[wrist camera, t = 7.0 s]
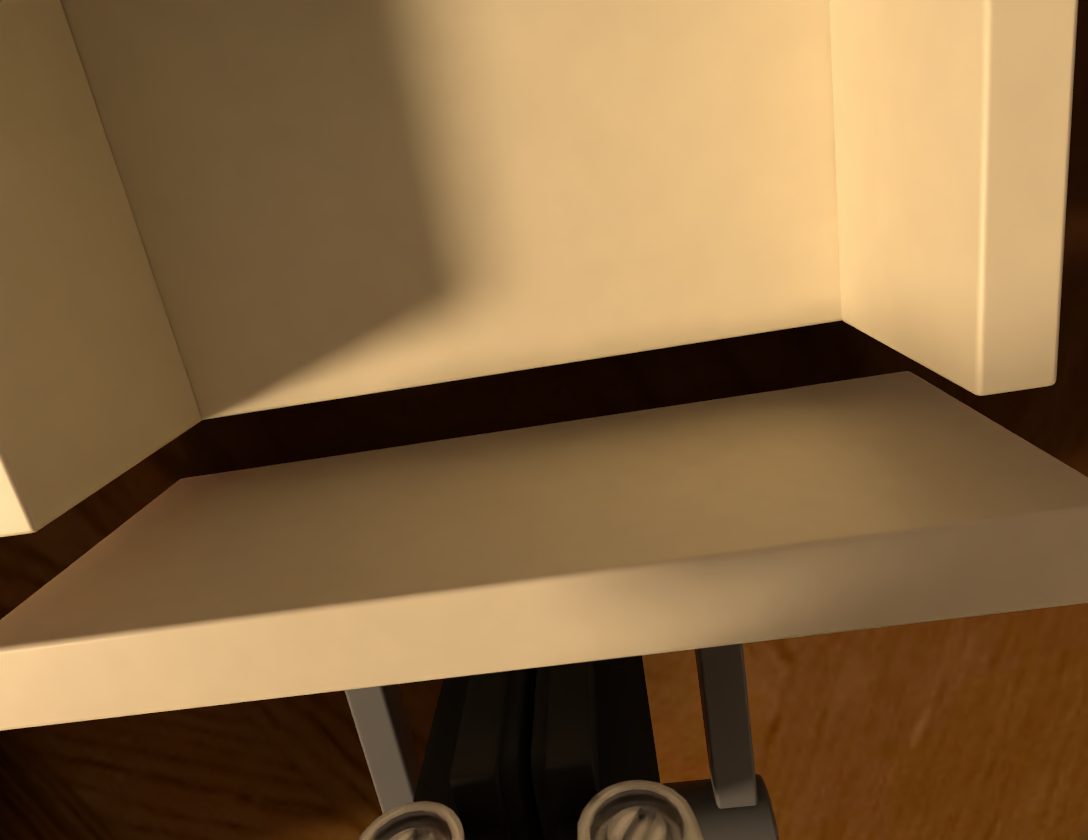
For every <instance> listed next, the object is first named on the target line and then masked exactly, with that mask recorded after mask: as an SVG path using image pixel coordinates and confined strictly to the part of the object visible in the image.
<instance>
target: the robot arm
mask: <svg viewBox="0 0 1088 840" xmlns="http://www.w3.org/2000/svg"><path fill="white" fill-rule="evenodd" d="M358 840H704V838H703V836H702V833H701V830H700V828H699V825H698V822H697V820H696V817H695V814H694V813H693V811H692V809H691V808H690V806H689V804H688V803H687V801H686V800H685V799H684V798H683V797H682V796H681V795H679V794H678V793H677V792H676V791H675V790H674V789H672V788H669V787H667V786H665V785H663V784H661V783H660V778H659V772H658V765H657V758H656V751H655V744H654V737H653V730H652V723H651V717H650V710H649V703H648V696H647V689H646V682H645V675H644V668H643V661H642V655H639V656H630V657H622V658H613V659H605V660H597V661H588V662H580V663H571V664H563V665H554V666H546V667H537V668H529V669H520V670H512V671H503V672H495V673H486V674H478V675H469V676H461V677H452V678H445V679H444V682H443V685H442V688H441V692H440V696H439V700H438V704H437V708H436V712H435V716H434V720H433V724H432V728H431V732H430V736H429V740H428V744H427V748H426V752H425V756H424V760H423V764H422V768H421V772H420V776H419V780H418V784H417V788H416V792H415V796H414V800H413V802H409V803H407V804H404V805H401V806H398V807H395V808H393V809H391V810H389V811H388V812H386V813H385V814H383V815H381V816H380V817H378V818H377V819H376V820H375V821H374V822H373V823H371V824H370V825H369V826H368V827H367V828H366V829H365V830H364V831H363V833H362V834H361V836H360V837H359V839H358Z"/></svg>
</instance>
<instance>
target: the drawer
mask: <svg viewBox="0 0 1088 840" xmlns="http://www.w3.org/2000/svg"><path fill="white" fill-rule="evenodd" d="M1077 13H1078V0H0V537H6V536H13V535H20V534H27V533H34V532H37V531H38V530H40V529H41V528H43V527H44V526H46V525H47V524H49V523H50V522H52V521H53V520H55V519H56V518H58V517H59V516H61V515H62V514H64V513H65V512H66V511H68V510H69V509H71V508H72V507H74V506H75V505H77V504H78V503H80V502H81V501H83V500H84V499H86V498H87V497H89V496H90V495H92V494H93V493H95V492H96V491H98V490H99V489H101V488H102V487H104V486H105V485H107V484H108V483H110V482H111V481H113V480H114V479H116V478H117V477H119V476H120V475H122V474H123V473H125V472H126V471H127V470H129V469H130V468H132V467H133V466H135V465H136V464H138V463H139V462H141V461H142V460H144V459H145V458H147V457H148V456H150V455H151V454H153V453H154V452H156V451H157V450H159V449H160V448H162V447H163V446H165V445H166V444H168V443H169V442H171V441H172V440H174V439H175V438H177V437H178V436H180V435H181V434H183V433H184V432H186V431H187V430H188V429H190V428H191V427H193V426H194V425H196V424H197V423H199V422H200V421H201V420H205V419H211V418H218V417H224V416H230V415H237V414H243V413H250V412H256V411H263V410H269V409H275V408H282V407H288V406H295V405H301V404H308V403H314V402H320V401H327V400H333V399H340V398H346V397H353V396H359V395H365V394H372V393H378V392H385V391H391V390H398V389H404V388H410V387H417V386H423V385H430V384H436V383H443V382H449V381H455V380H462V379H468V378H475V377H481V376H488V375H494V374H500V373H507V372H513V371H520V370H526V369H533V368H539V367H545V366H552V365H558V364H565V363H571V362H578V361H584V360H590V359H597V358H603V357H610V356H616V355H623V354H629V353H635V352H642V351H648V350H655V349H661V348H668V347H674V346H680V345H687V344H693V343H700V342H706V341H713V340H719V339H725V338H732V337H738V336H745V335H751V334H758V333H764V332H770V331H777V330H783V329H790V328H796V327H802V326H809V325H815V324H822V323H828V322H835V321H841V320H843V321H844V322H846V323H847V324H849V325H851V326H853V327H855V328H856V329H858V330H860V331H862V332H864V333H865V334H867V335H869V336H871V337H873V338H874V339H876V340H878V341H880V342H882V343H883V344H885V345H887V346H889V347H891V348H892V349H894V350H896V351H898V352H900V353H901V354H903V355H905V356H907V357H909V358H910V359H912V360H914V361H916V362H918V363H919V364H921V365H923V366H925V367H927V368H928V369H930V370H932V371H934V372H936V373H937V374H939V375H941V376H943V377H945V378H946V379H948V380H950V381H952V382H954V383H955V384H957V385H959V386H961V387H963V388H964V389H966V390H968V391H970V392H972V393H973V394H975V395H979V396H983V395H990V394H997V393H1004V392H1011V391H1018V390H1025V389H1032V388H1039V387H1046V386H1051V385H1053V384H1055V382H1056V376H1057V359H1058V341H1059V324H1060V307H1061V290H1062V272H1063V255H1064V238H1065V221H1066V203H1067V186H1068V169H1069V152H1070V134H1071V117H1072V100H1073V82H1074V65H1075V48H1076V31H1077ZM1081 603H1088V477H1086V476H1085V475H1083V474H1081V473H1080V472H1078V471H1076V470H1075V469H1073V468H1071V467H1070V466H1068V465H1066V464H1065V463H1063V462H1061V461H1059V460H1058V459H1056V458H1054V457H1053V456H1051V455H1049V454H1048V453H1046V452H1044V451H1043V450H1041V449H1039V448H1038V447H1036V446H1034V445H1033V444H1031V443H1029V442H1028V441H1026V440H1024V439H1023V438H1021V437H1019V436H1017V435H1016V434H1014V433H1012V432H1011V431H1009V430H1007V429H1006V428H1004V427H1002V426H1001V425H999V424H997V423H996V422H994V421H992V420H991V419H989V418H987V417H986V416H984V415H982V414H980V413H979V412H977V411H975V410H974V409H972V408H970V407H969V406H967V405H965V404H964V403H962V402H960V401H959V400H957V399H955V398H954V397H952V396H950V395H949V394H947V393H945V392H943V391H942V390H940V389H938V388H937V387H935V386H933V385H932V384H930V383H928V382H927V381H925V380H923V379H922V378H920V377H918V376H917V375H915V374H913V373H912V372H909V371H904V372H897V373H890V374H883V375H877V376H870V377H863V378H856V379H850V380H843V381H836V382H829V383H823V384H816V385H809V386H802V387H796V388H789V389H782V390H776V391H769V392H762V393H755V394H749V395H742V396H735V397H728V398H722V399H715V400H708V401H701V402H695V403H688V404H681V405H674V406H668V407H661V408H654V409H647V410H641V411H634V412H627V413H620V414H614V415H607V416H600V417H593V418H587V419H580V420H573V421H566V422H560V423H553V424H546V425H539V426H533V427H526V428H519V429H512V430H506V431H499V432H492V433H485V434H479V435H472V436H465V437H458V438H452V439H445V440H438V441H431V442H425V443H418V444H411V445H404V446H398V447H391V448H384V449H377V450H371V451H364V452H357V453H351V454H344V455H337V456H330V457H324V458H317V459H310V460H303V461H297V462H290V463H283V464H276V465H270V466H263V467H256V468H249V469H243V470H236V471H229V472H222V473H216V474H209V475H202V476H195V477H189V478H182V479H180V480H178V481H177V482H176V483H174V484H173V485H172V486H171V487H169V488H168V489H167V490H165V491H164V492H163V493H162V494H160V495H159V496H158V497H157V498H155V499H154V500H153V501H151V502H150V503H149V504H148V505H146V506H145V507H144V508H143V509H141V510H140V511H139V512H137V513H136V514H135V515H134V516H132V517H131V518H130V519H128V520H127V521H126V522H125V523H123V524H122V525H121V526H120V527H118V528H117V529H116V530H114V531H113V532H112V533H111V534H109V535H108V536H107V537H106V538H104V539H103V540H102V541H100V542H99V543H98V544H97V545H95V546H94V547H93V548H91V549H90V550H89V551H88V552H86V553H85V554H84V555H83V556H81V557H80V558H79V559H77V560H76V561H75V562H74V563H72V564H71V565H70V566H69V567H67V568H66V569H65V570H63V571H62V572H61V573H60V574H58V575H57V576H56V577H55V578H53V579H52V580H51V581H49V582H48V583H47V584H46V585H44V586H43V587H42V588H40V589H39V590H38V591H37V592H35V593H34V594H33V595H32V596H30V597H29V598H28V599H26V600H25V601H24V602H23V603H21V604H20V605H19V606H18V607H16V608H15V609H14V610H12V611H11V612H10V613H9V614H7V615H6V616H5V617H3V618H2V619H1V620H0V731H2V730H10V729H19V728H27V727H36V726H44V725H53V724H61V723H70V722H78V721H87V720H95V719H104V718H112V717H121V716H129V715H138V714H146V713H155V712H163V711H172V710H180V709H189V708H197V707H206V706H214V705H223V704H231V703H240V702H248V701H257V700H265V699H274V698H282V697H291V696H299V695H308V694H316V693H325V692H333V691H342V690H345V694H346V697H347V700H348V703H349V707H350V710H351V713H352V716H353V719H354V723H355V726H356V729H357V732H358V735H359V739H360V742H361V745H362V748H363V751H364V755H365V758H366V761H367V764H368V767H369V771H370V774H371V777H372V780H373V783H374V787H375V790H376V793H377V796H378V800H379V803H380V806H381V809H382V812H383V814H385V813H386V812H388V811H389V810H391V809H393V808H395V807H398V806H401V805H404V804H407V803H409V802H413V800H414V796H415V792H416V788H417V784H418V780H419V776H420V772H421V768H422V766H421V762H420V759H419V755H418V752H417V748H416V745H415V741H414V738H413V734H412V731H411V727H410V723H409V720H408V716H407V713H406V709H405V706H404V702H403V699H402V695H401V692H400V688H399V684H401V683H410V682H418V681H427V680H435V679H444V678H452V677H461V676H469V675H478V674H486V673H495V672H503V671H512V670H520V669H529V668H537V667H546V666H554V665H563V664H571V663H580V662H588V661H597V660H605V659H613V658H622V657H630V656H639V655H647V654H656V653H664V652H673V651H681V650H690V649H695V654H696V662H697V670H698V679H699V687H700V695H701V703H702V711H703V719H704V728H705V736H706V744H707V752H708V760H709V768H710V777H711V779H704V780H694V781H684V782H674V783H664V784H663V785H665V786H667V787H669V788H672V789H674V790H675V791H676V792H677V793H678V794H679V795H681V796H682V797H683V798H684V799H685V800H686V801H687V803H688V804H689V806H690V808H691V809H692V811H693V813H694V814H695V817H696V820H697V822H698V825H699V828H700V830H701V833H702V836H703V838H704V840H779V836H778V831H777V826H776V822H775V817H774V813H773V809H772V805H771V801H770V798H769V794H768V791H767V788H766V785H765V783H764V781H763V779H762V777H761V776H760V775H758V774H755V767H754V757H753V747H752V737H751V726H750V716H749V706H748V696H747V685H746V675H745V665H744V654H743V644H742V643H749V642H758V641H766V640H775V639H783V638H792V637H800V636H809V635H817V634H826V633H834V632H843V631H851V630H860V629H868V628H877V627H885V626H894V625H902V624H911V623H919V622H928V621H936V620H945V619H953V618H962V617H970V616H979V615H987V614H996V613H1004V612H1013V611H1021V610H1030V609H1038V608H1047V607H1055V606H1064V605H1072V604H1081Z"/></svg>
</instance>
